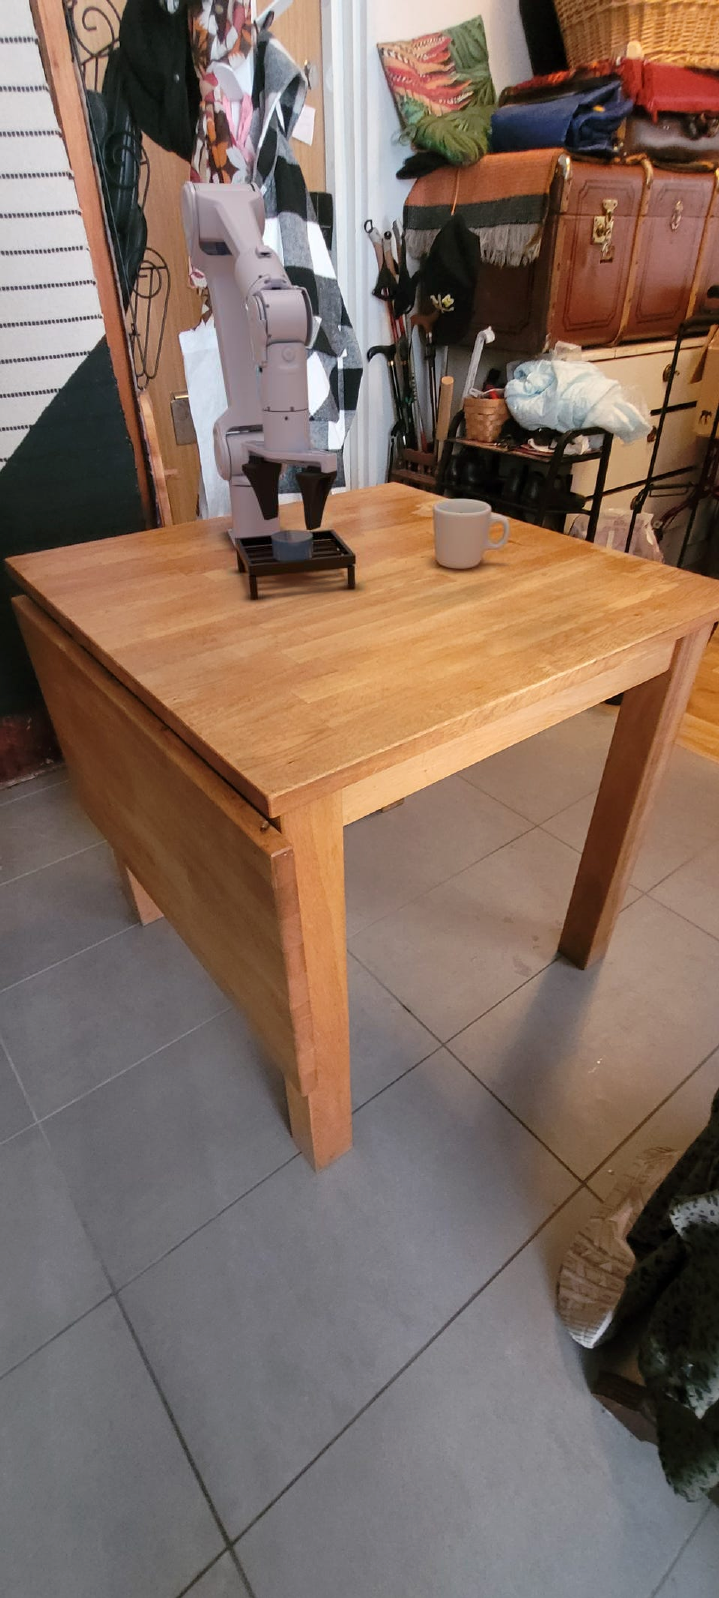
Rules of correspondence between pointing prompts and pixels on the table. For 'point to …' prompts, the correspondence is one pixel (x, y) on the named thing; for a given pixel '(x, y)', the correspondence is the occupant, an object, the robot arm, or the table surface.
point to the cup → (465, 532)
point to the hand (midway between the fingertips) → (291, 523)
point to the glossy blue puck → (292, 545)
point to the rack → (264, 564)
